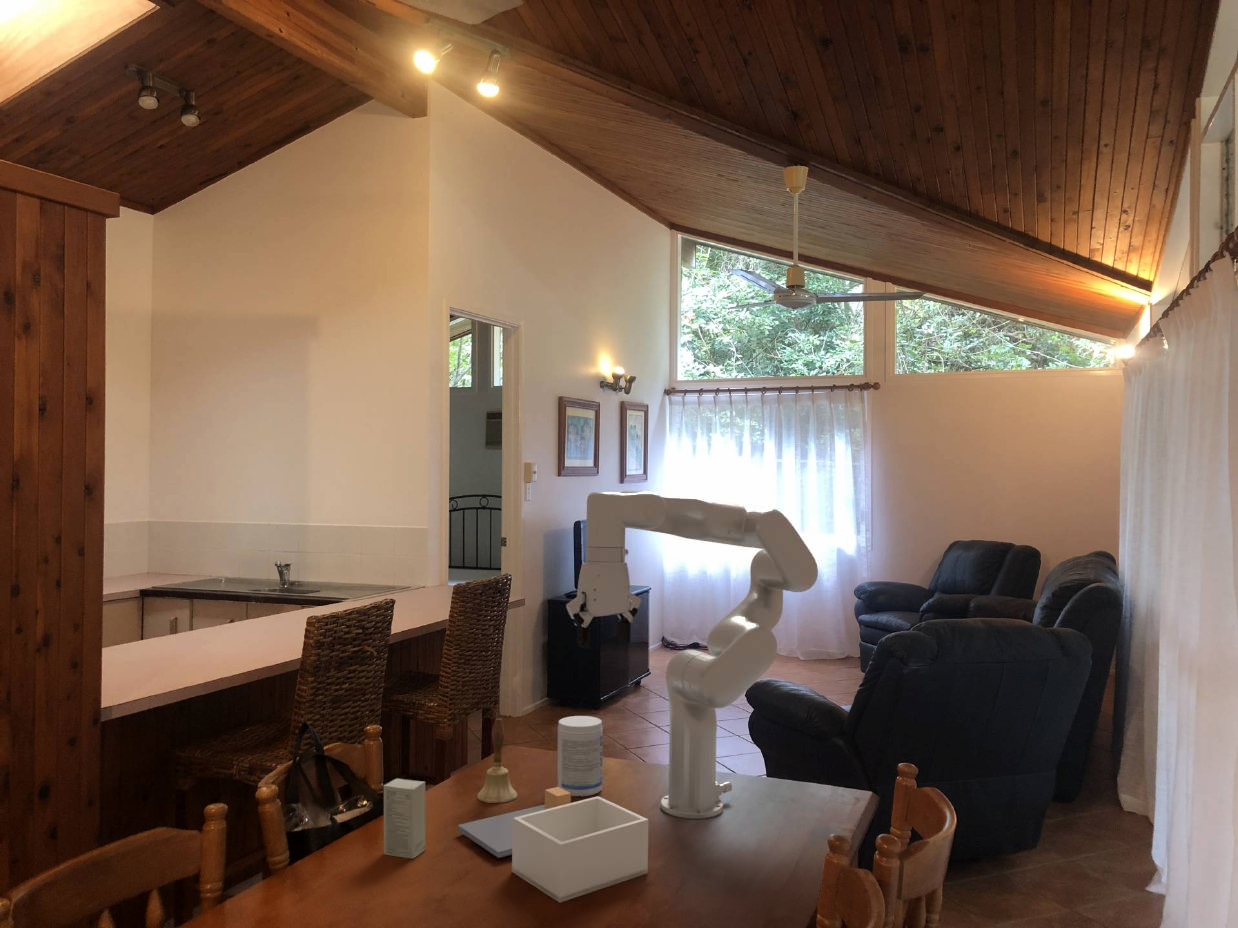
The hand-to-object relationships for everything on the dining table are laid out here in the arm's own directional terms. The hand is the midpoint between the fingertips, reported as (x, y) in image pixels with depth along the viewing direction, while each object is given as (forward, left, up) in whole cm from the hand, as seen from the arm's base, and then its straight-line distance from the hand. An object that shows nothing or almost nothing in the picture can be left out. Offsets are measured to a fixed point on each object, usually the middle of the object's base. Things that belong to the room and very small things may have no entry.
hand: (604, 644), depth 177 cm
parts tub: (+16, +15, -34) cm, 41 cm away
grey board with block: (+15, -4, -35) cm, 38 cm away
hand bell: (+8, -25, -35) cm, 43 cm away
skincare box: (+36, -10, -34) cm, 51 cm away
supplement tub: (-8, -18, -34) cm, 40 cm away
